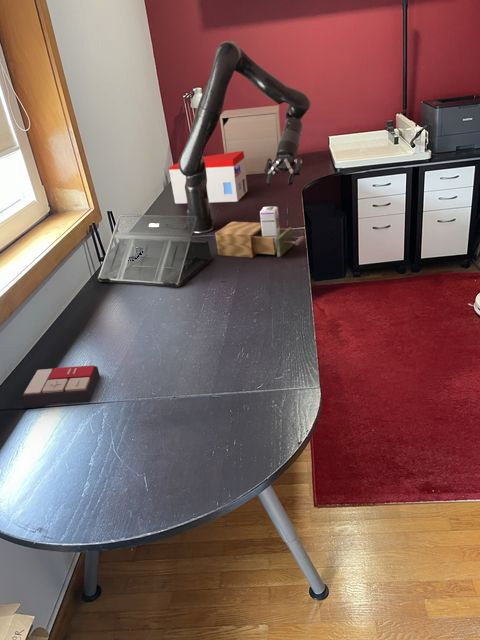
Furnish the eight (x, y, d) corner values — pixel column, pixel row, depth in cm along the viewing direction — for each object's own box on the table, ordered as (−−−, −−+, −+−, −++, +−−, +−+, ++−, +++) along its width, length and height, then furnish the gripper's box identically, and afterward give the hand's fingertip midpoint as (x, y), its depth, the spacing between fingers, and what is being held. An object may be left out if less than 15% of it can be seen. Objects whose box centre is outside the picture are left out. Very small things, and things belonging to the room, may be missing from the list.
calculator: (86, 388, 116) (20, 393, 116) (90, 403, 118) (25, 408, 118) (97, 363, 125) (36, 367, 125) (100, 377, 128) (40, 381, 127)
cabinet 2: (267, 245, 199) (265, 223, 195) (252, 257, 189) (250, 234, 184) (234, 242, 205) (232, 221, 201) (218, 255, 195) (215, 232, 190)
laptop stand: (96, 283, 181) (82, 233, 172) (138, 255, 203) (128, 209, 194) (177, 289, 170) (167, 236, 161) (212, 258, 192) (205, 210, 183)
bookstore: (238, 201, 260) (233, 159, 250) (175, 203, 269) (167, 162, 258) (248, 191, 278) (243, 150, 267) (188, 193, 286) (182, 154, 275)
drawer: (308, 246, 191) (307, 228, 188) (296, 258, 182) (294, 239, 178) (261, 242, 199) (259, 225, 196) (247, 254, 190) (245, 236, 186)
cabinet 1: (226, 176, 315) (219, 116, 298) (231, 166, 340) (224, 110, 323) (282, 171, 312) (278, 110, 295) (283, 162, 337) (279, 105, 320)
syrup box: (278, 249, 188) (275, 210, 181) (263, 249, 189) (259, 210, 182) (281, 243, 193) (278, 205, 185) (266, 244, 194) (262, 206, 187)
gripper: (268, 140, 192) (258, 179, 190) (302, 138, 186) (292, 179, 183) (275, 152, 199) (266, 189, 196) (309, 150, 192) (299, 189, 190)
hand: (278, 184), depth 190 cm, fingers open, 8 cm apart
